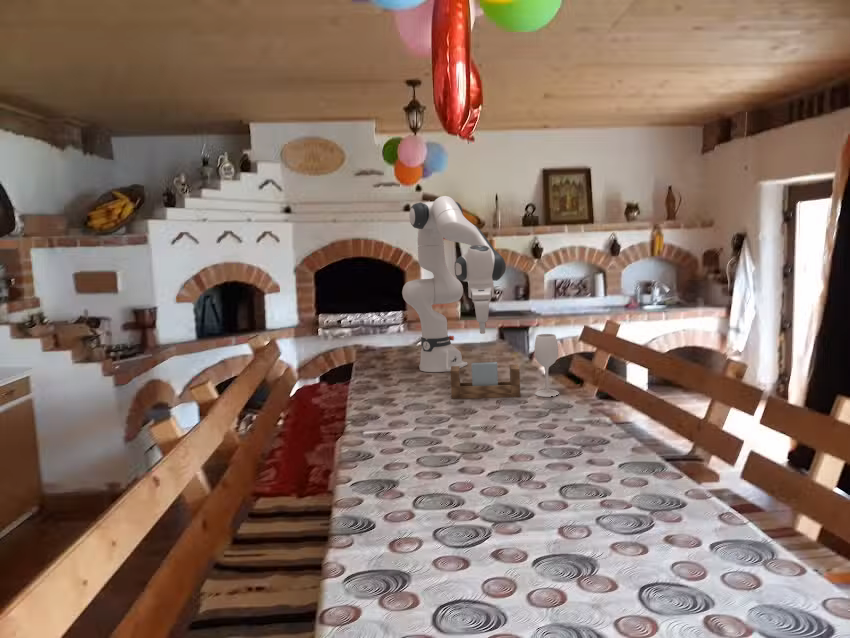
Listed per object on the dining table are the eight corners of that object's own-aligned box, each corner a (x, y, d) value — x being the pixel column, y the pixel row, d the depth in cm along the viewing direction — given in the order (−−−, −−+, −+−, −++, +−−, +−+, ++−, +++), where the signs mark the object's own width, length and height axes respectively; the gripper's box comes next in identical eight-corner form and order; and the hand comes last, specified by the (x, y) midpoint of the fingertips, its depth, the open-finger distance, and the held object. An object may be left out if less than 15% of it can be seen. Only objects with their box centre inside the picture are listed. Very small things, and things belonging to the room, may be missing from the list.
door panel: (497, 389, 234) (496, 362, 233) (498, 391, 231) (497, 364, 230) (472, 390, 235) (471, 362, 234) (472, 392, 232) (471, 364, 230)
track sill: (518, 391, 236) (518, 364, 235) (520, 397, 228) (519, 368, 227) (452, 393, 238) (451, 366, 237) (451, 398, 230) (450, 371, 229)
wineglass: (558, 390, 234) (557, 332, 232) (561, 396, 226) (559, 336, 223) (533, 391, 235) (532, 333, 233) (535, 397, 227) (534, 337, 224)
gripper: (472, 289, 239) (473, 327, 241) (472, 295, 219) (473, 336, 221) (489, 289, 239) (490, 326, 240) (490, 294, 218) (492, 335, 220)
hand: (482, 331), depth 230 cm, fingers open, 8 cm apart
